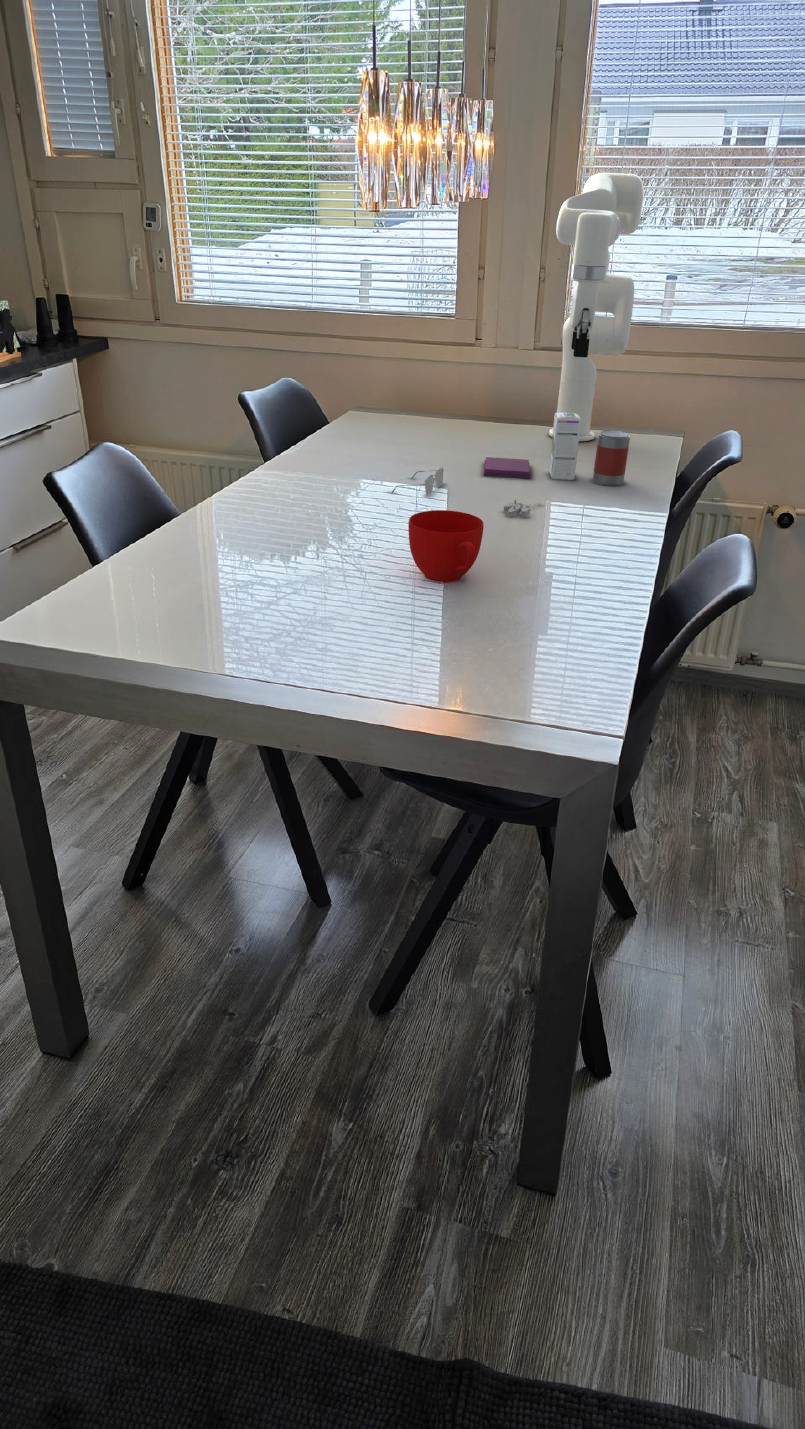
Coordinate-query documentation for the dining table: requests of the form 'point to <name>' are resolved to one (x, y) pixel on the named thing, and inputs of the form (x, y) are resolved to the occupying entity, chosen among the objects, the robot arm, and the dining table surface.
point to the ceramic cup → (444, 543)
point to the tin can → (611, 458)
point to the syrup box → (564, 446)
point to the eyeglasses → (430, 481)
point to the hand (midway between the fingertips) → (579, 353)
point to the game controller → (517, 508)
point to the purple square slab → (507, 467)
